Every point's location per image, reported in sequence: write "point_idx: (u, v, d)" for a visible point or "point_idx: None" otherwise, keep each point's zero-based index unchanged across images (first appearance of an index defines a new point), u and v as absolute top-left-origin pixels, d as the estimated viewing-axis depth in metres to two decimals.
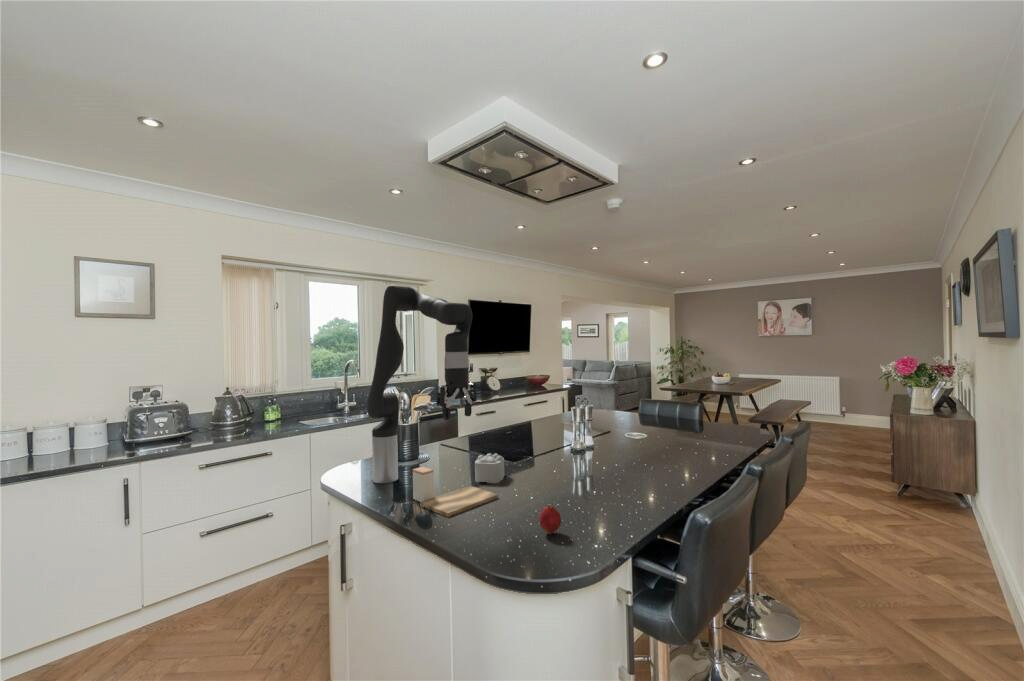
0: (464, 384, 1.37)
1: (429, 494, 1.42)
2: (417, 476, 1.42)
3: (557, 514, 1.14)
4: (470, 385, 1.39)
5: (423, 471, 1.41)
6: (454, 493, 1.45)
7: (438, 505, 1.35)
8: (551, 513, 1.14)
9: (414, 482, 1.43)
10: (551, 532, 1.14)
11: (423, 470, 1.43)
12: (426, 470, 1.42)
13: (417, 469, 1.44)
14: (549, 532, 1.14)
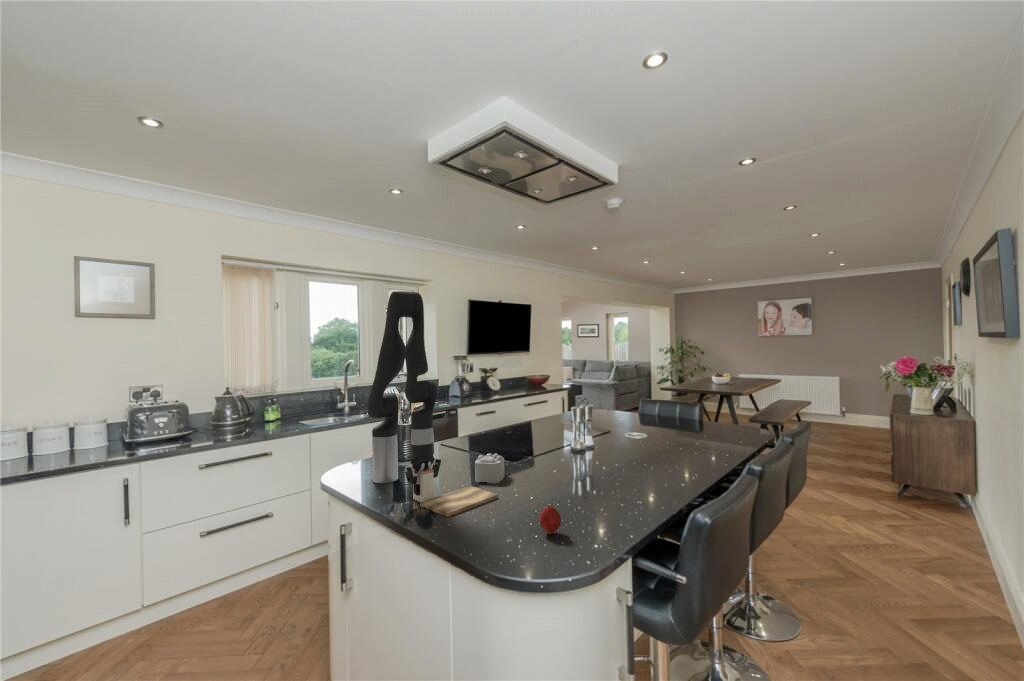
0: (430, 457, 1.45)
1: (429, 494, 1.42)
2: None
3: (557, 514, 1.14)
4: (436, 460, 1.47)
5: (423, 471, 1.41)
6: (454, 493, 1.45)
7: (438, 505, 1.35)
8: (551, 513, 1.14)
9: None
10: (551, 532, 1.14)
11: None
12: (426, 470, 1.42)
13: None
14: (549, 532, 1.14)
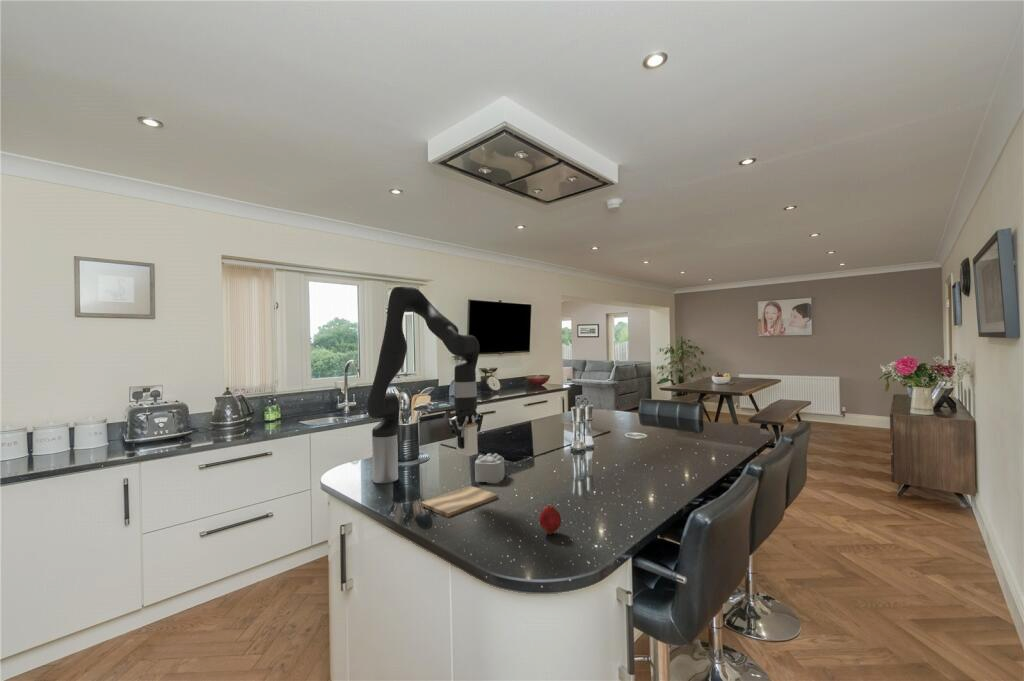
0: (473, 411, 1.44)
1: (473, 447, 1.41)
2: None
3: (557, 514, 1.14)
4: (478, 415, 1.47)
5: (467, 424, 1.41)
6: (454, 493, 1.45)
7: (438, 505, 1.35)
8: (551, 513, 1.14)
9: None
10: (551, 532, 1.14)
11: None
12: (470, 423, 1.42)
13: None
14: (549, 532, 1.14)
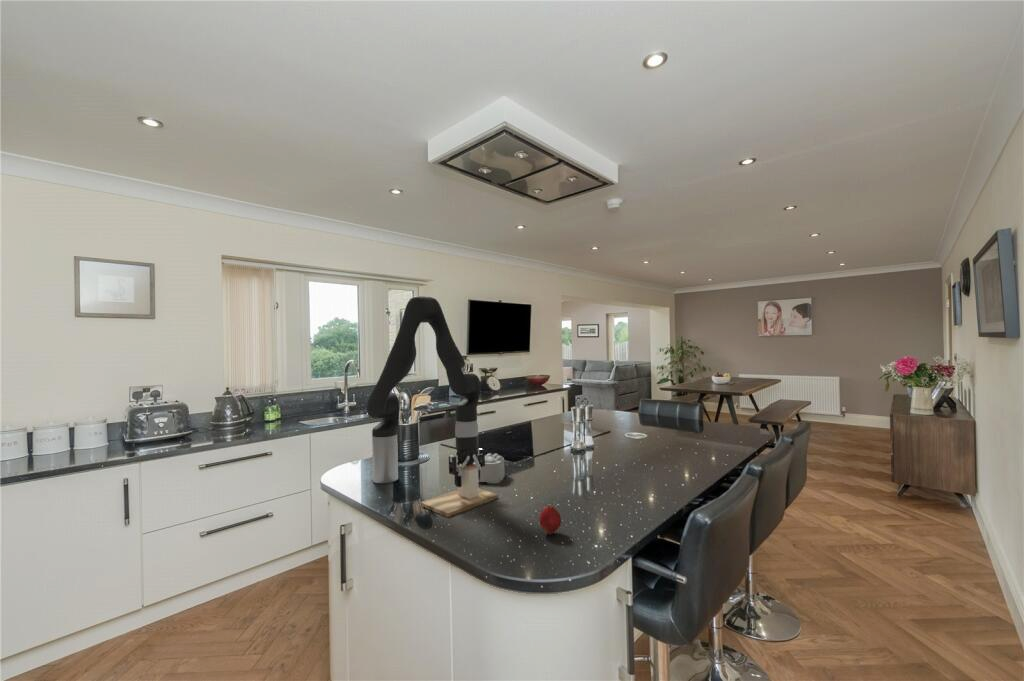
0: (474, 450, 1.44)
1: (475, 490, 1.41)
2: (462, 472, 1.42)
3: (557, 514, 1.14)
4: (479, 451, 1.47)
5: (468, 466, 1.41)
6: (454, 493, 1.45)
7: (438, 505, 1.35)
8: (551, 513, 1.14)
9: None
10: (551, 532, 1.14)
11: None
12: (471, 465, 1.42)
13: None
14: (549, 532, 1.14)
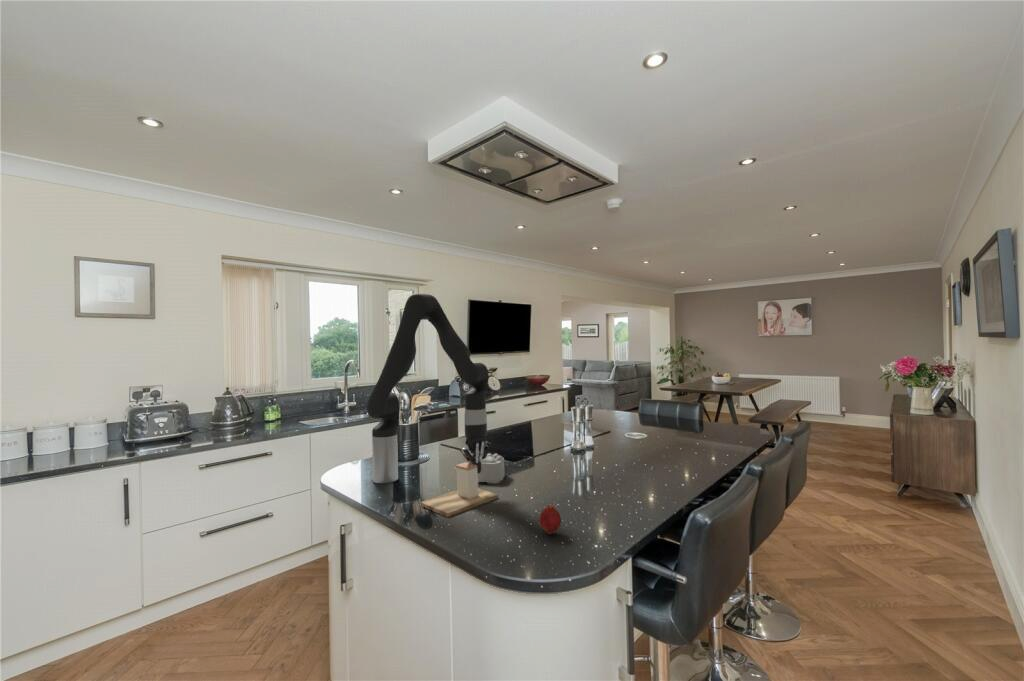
0: (484, 436, 1.48)
1: (474, 489, 1.41)
2: (461, 472, 1.42)
3: (557, 514, 1.14)
4: (487, 442, 1.50)
5: (467, 467, 1.41)
6: (454, 493, 1.45)
7: (438, 505, 1.35)
8: (551, 513, 1.14)
9: (458, 478, 1.43)
10: (551, 532, 1.14)
11: (466, 465, 1.42)
12: (470, 466, 1.42)
13: (461, 465, 1.43)
14: (549, 532, 1.14)
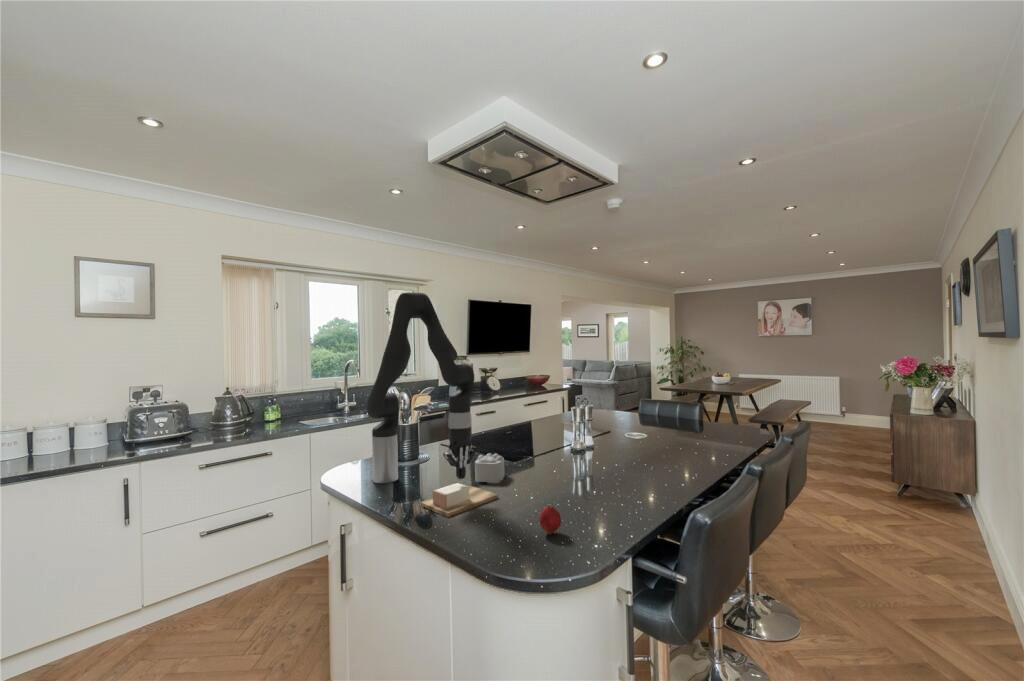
0: (469, 440, 1.43)
1: (463, 493, 1.38)
2: None
3: (557, 514, 1.14)
4: (472, 447, 1.45)
5: (442, 504, 1.33)
6: None
7: None
8: (551, 513, 1.14)
9: None
10: (551, 532, 1.14)
11: (439, 500, 1.34)
12: (442, 500, 1.33)
13: (435, 501, 1.35)
14: (549, 532, 1.14)
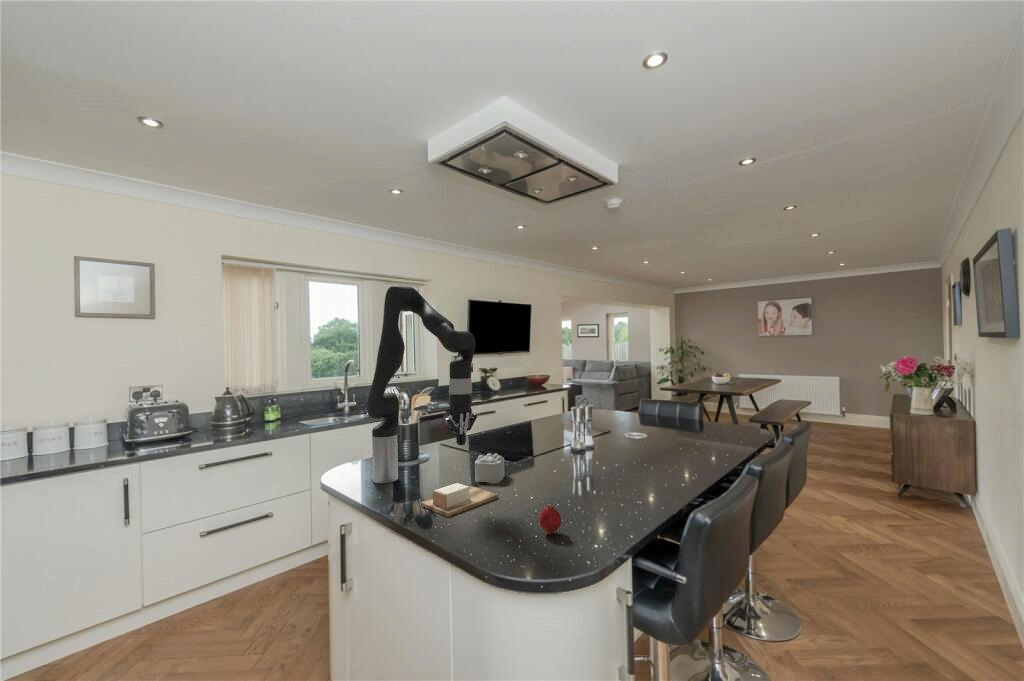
0: (469, 407, 1.43)
1: (463, 493, 1.38)
2: None
3: (557, 514, 1.14)
4: (472, 414, 1.45)
5: (442, 504, 1.33)
6: None
7: None
8: (551, 513, 1.14)
9: None
10: (551, 532, 1.14)
11: (439, 500, 1.34)
12: (442, 500, 1.33)
13: (435, 501, 1.35)
14: (549, 532, 1.14)
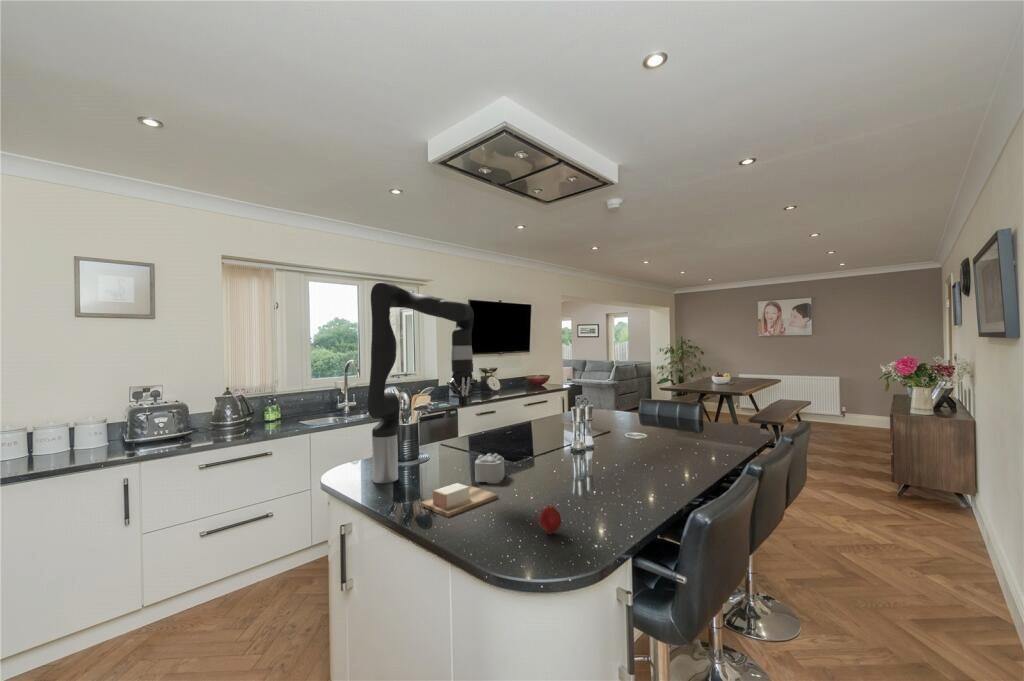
0: (470, 373, 1.57)
1: (463, 493, 1.38)
2: None
3: (557, 514, 1.14)
4: (473, 379, 1.59)
5: (442, 504, 1.33)
6: None
7: None
8: (551, 513, 1.14)
9: None
10: (551, 532, 1.14)
11: (439, 500, 1.34)
12: (442, 500, 1.33)
13: (435, 501, 1.35)
14: (549, 532, 1.14)
